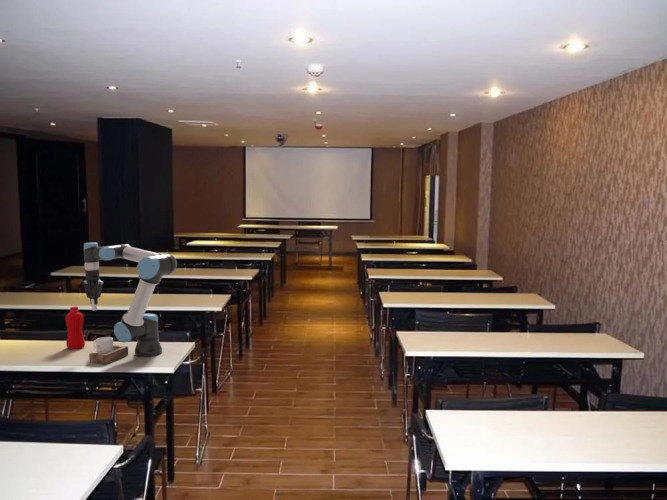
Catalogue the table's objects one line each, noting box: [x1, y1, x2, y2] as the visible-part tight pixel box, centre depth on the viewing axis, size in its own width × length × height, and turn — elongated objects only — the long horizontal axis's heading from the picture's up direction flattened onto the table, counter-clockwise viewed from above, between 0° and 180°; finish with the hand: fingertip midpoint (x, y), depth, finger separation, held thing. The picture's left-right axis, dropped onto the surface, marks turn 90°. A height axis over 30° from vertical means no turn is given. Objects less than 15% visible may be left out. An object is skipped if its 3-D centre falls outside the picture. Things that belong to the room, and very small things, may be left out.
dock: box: [88, 344, 129, 365], centre depth 328 cm, size 11×19×5 cm, turn 163°
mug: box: [93, 336, 114, 354], centre depth 329 cm, size 12×9×11 cm
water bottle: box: [65, 306, 86, 351], centre depth 350 cm, size 9×11×25 cm
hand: (94, 309), depth 338 cm, fingers closed
